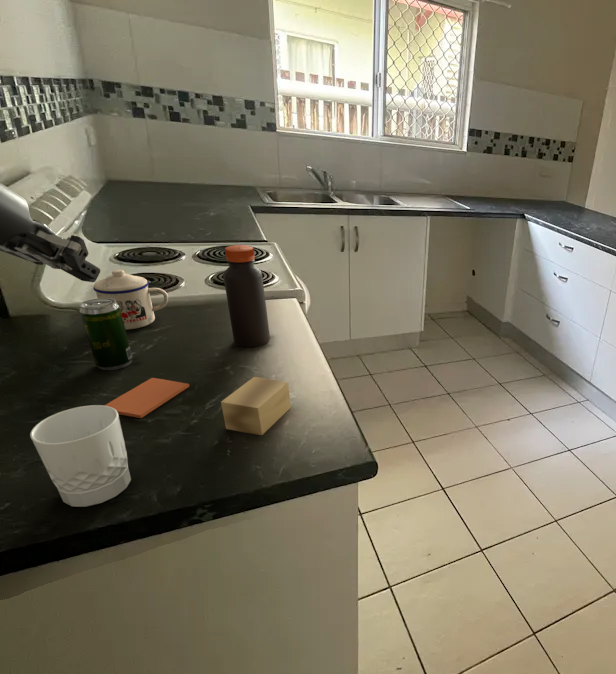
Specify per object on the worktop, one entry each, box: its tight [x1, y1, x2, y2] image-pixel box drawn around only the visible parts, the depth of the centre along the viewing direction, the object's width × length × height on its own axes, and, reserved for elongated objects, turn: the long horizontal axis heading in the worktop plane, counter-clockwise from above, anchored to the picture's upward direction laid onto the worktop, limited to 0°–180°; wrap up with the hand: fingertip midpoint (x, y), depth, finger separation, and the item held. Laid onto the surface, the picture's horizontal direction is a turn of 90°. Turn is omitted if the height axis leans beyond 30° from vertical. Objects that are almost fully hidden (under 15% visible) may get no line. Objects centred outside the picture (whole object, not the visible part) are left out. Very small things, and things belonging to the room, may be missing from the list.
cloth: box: [103, 377, 190, 419], centre depth 78 cm, size 7×10×1 cm
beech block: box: [220, 376, 292, 436], centre depth 75 cm, size 6×8×5 cm
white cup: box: [29, 404, 132, 508], centre depth 58 cm, size 8×8×10 cm
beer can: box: [79, 298, 134, 371], centre depth 84 cm, size 5×5×12 cm
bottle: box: [222, 244, 271, 348], centre depth 96 cm, size 7×7×20 cm
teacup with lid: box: [92, 269, 169, 331], centre depth 101 cm, size 12×9×12 cm
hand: (93, 275), depth 65 cm, fingers closed
